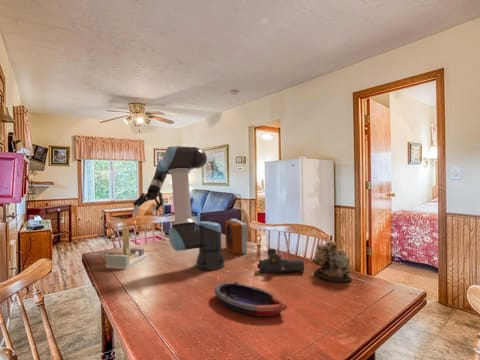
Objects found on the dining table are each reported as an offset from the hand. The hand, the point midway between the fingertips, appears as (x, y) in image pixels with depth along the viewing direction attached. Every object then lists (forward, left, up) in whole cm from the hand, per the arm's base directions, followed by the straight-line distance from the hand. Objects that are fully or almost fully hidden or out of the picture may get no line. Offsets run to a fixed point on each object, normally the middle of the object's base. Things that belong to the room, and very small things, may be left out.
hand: (143, 214), depth 166 cm
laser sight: (-55, -65, -25) cm, 89 cm away
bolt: (-14, +9, -23) cm, 28 cm away
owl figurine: (-69, -84, -25) cm, 112 cm away
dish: (-82, -38, -25) cm, 94 cm away
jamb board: (-12, +8, -24) cm, 28 cm away
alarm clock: (-12, -55, -25) cm, 62 cm away
